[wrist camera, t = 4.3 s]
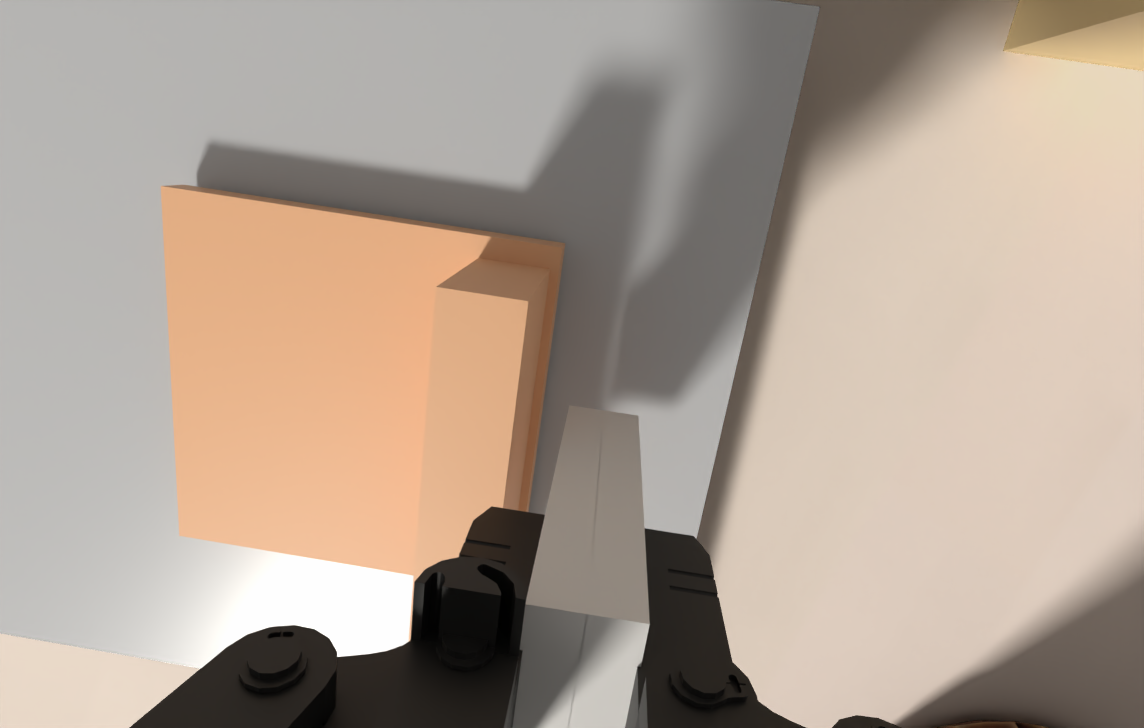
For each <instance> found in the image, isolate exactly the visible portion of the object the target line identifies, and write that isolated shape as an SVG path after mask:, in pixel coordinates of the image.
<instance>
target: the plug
mask: <svg viewBox="0 0 1144 728" xmlns="http://www.w3.org/2000/svg"><path fill="white" fill-rule="evenodd" d="M1003 51H1006V52H1013V53H1020V54H1027V55H1034V56H1041V57H1048V58H1055V59H1062V60H1069V61H1076V62H1083V63H1091V64H1098V65H1105V66H1112V67H1119V68H1126V69H1133V70H1140V71H1144V0H1019V2H1018V5H1017V9H1016V12H1015V15H1014V18H1013V21H1012V24H1011V28H1010V31H1009V34H1008V37H1007V40H1006V43H1005V47H1004V50H1003Z"/></svg>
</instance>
